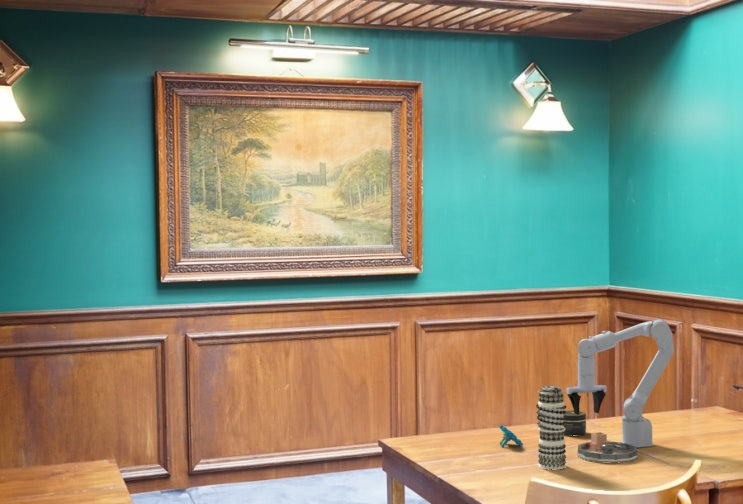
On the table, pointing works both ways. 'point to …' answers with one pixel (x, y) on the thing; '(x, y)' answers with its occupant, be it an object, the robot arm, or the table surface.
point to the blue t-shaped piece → (509, 437)
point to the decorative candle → (551, 428)
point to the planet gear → (598, 441)
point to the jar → (575, 423)
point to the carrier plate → (616, 451)
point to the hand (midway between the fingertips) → (586, 413)
